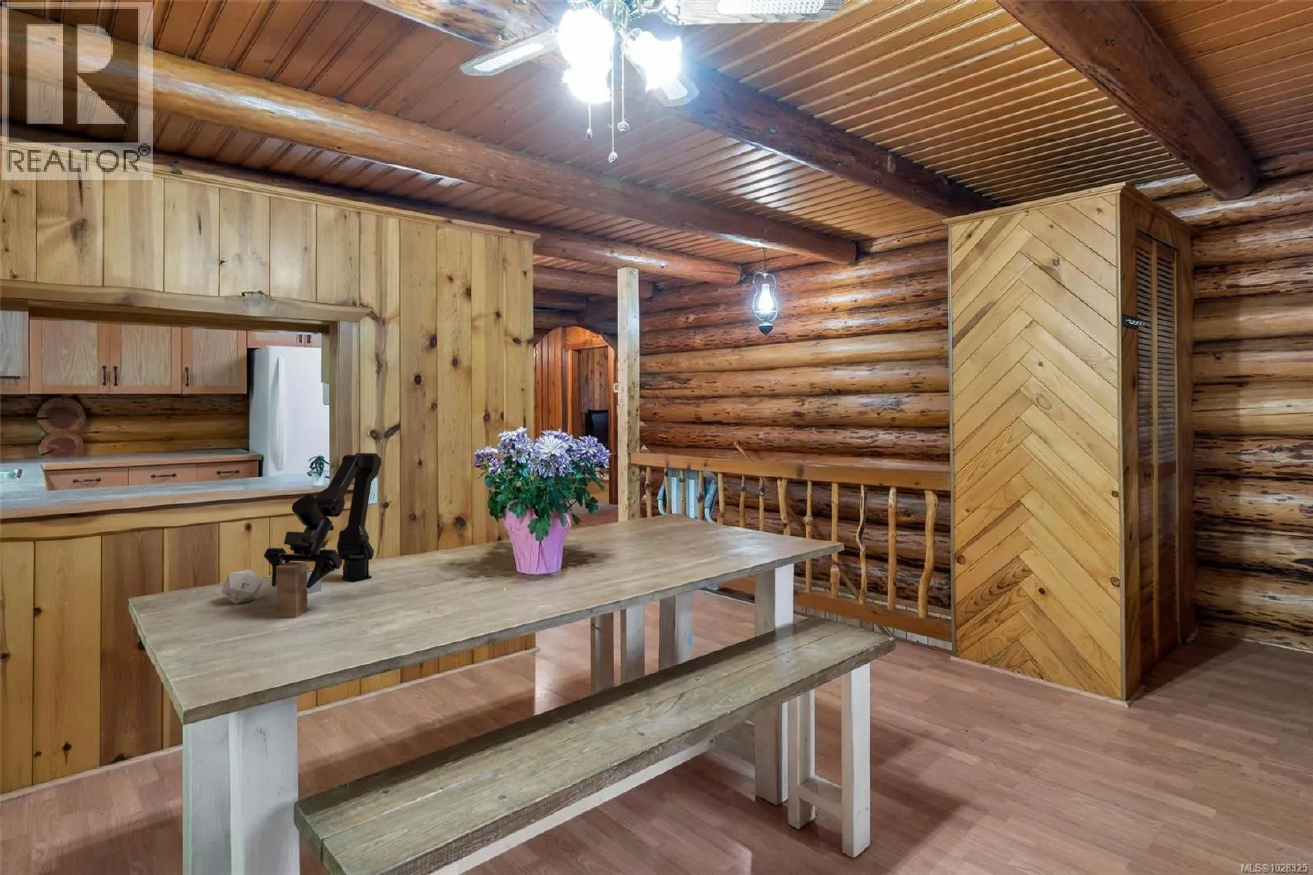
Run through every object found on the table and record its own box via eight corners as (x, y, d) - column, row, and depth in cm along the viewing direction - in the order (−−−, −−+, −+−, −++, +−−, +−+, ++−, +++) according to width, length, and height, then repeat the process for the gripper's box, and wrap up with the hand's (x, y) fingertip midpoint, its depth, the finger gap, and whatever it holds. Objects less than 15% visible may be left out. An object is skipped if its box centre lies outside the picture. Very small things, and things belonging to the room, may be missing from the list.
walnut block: (288, 610, 174) (288, 562, 173) (307, 611, 174) (306, 562, 173) (276, 617, 169) (276, 566, 168) (296, 617, 169) (295, 567, 168)
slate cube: (309, 588, 194) (309, 571, 194) (321, 590, 192) (320, 573, 192) (293, 592, 190) (293, 575, 190) (305, 595, 188) (305, 578, 187)
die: (214, 607, 178) (225, 581, 174) (224, 583, 185) (235, 558, 181) (249, 614, 182) (260, 589, 178) (258, 590, 189) (269, 566, 185)
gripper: (267, 517, 175) (239, 569, 165) (336, 519, 174) (312, 572, 164) (286, 540, 184) (260, 591, 173) (351, 542, 183) (330, 594, 172)
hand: (290, 586), depth 170 cm, fingers open, 9 cm apart
